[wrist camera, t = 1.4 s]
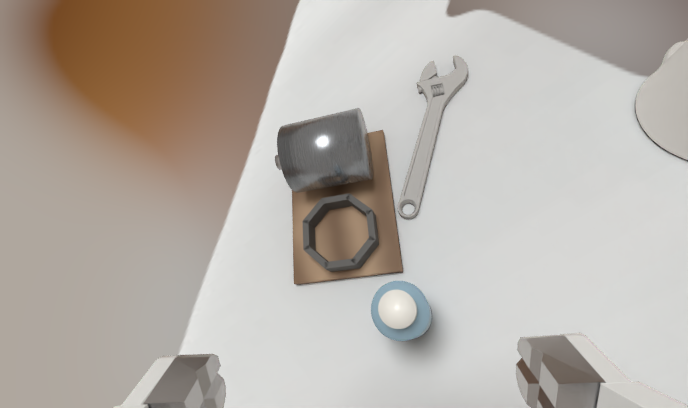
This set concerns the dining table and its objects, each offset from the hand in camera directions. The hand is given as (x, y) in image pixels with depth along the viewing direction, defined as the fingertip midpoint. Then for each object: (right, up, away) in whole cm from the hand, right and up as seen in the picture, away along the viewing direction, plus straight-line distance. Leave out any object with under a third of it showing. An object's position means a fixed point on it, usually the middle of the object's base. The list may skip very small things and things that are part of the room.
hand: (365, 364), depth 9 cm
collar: (0, 0, +36) cm, 36 cm away
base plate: (-1, +4, +37) cm, 38 cm away
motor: (-2, +9, +39) cm, 40 cm away
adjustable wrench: (+11, +14, +38) cm, 42 cm away
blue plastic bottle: (+7, -9, +30) cm, 32 cm away
